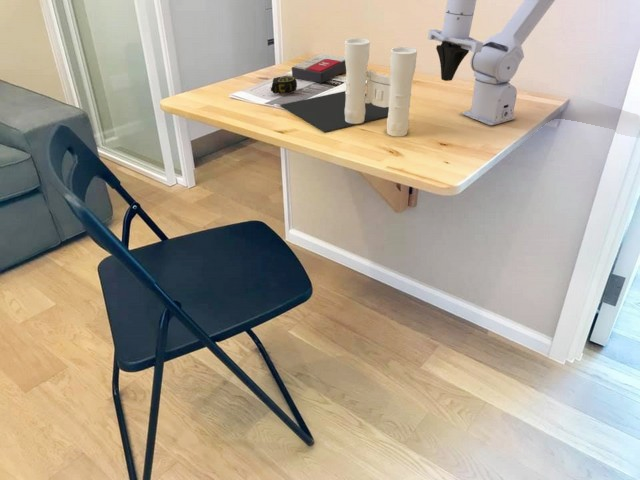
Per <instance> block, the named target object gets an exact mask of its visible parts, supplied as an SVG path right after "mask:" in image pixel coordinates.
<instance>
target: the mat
mask: <svg viewBox="0 0 640 480" xmlns="http://www.w3.org/2000/svg"><path fill="white" fill-rule="evenodd" d="M345 92H346V90H344V91H340V92H335V93H334V92H333V93H329V94H326V95H320V96H315V97H310V98H306V99H301V100H296V101H292V102H286V103H283V104H280V105H279V106H280V107H282V108H283V109H285V110H287V111H288V112H290V113H291V114H292V115H295V116H297V117H298V118H300V119H301V120H303V121H305V122H306V123H308V124H309V125H311V126H313V127H314V128H316V129H318V130H320V131H321V132H323V133H329V132H334V131H337V130H341V129H346V128H349V127H350V128H351V127H355V126H357V125H362V124H366V123H370V122H374V121H379V120H382V119H386V118H387V119H388V112H389V107H379V106H376V105H373V104H372V103H365V109H366V110H365V117H364V122H362V123H359V124H351V123H347V122H346V121H345V102H346V94H345ZM365 96H366V93H365Z"/></svg>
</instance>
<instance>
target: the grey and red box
mask: <svg viewBox="0 0 640 480" xmlns="http://www.w3.org/2000/svg"><path fill="white" fill-rule="evenodd" d="M341 74H342V75H343V74H346V63H345V56H339V55H333V54H326V53H319V54H317V55H314V56H311V57H309V58H306V59H304V61H301V62H298V63H296V64H294V65H293V66H292V67H291V76H292V77H294V78H295V79H296V80H298V79H299V80H304V81H308V82H313V83H314V82H315V83H319V84H323V83H325V82H327V81H329V80H331V79H333V78H334V77H336V76H338V75H341Z"/></svg>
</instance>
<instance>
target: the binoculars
mask: <svg viewBox="0 0 640 480" xmlns="http://www.w3.org/2000/svg"><path fill="white" fill-rule="evenodd" d="M370 44H371V41H370V40H369V39H366V38H361V37H360V38H359V37H353V38H348V39H346V40H345V41H344V57H345V63H346V73H345V77H346V78H345V91H346V92H345V94H346V102H345V121H346V122H347V123H351V124H358V125H360V124H359V123H362V122H364V117H365V110H366V109H365V103H372V104H373V105H376V106H379V107H389V112H388V117H387V120H386V134H387V135H389V136H392V137H404V136H407V135H408V129H409V126H410V108H411V96H412V87H413V81H414V80H413V79H414V75H415V71H416V67H417V56H418V49H416V48H414V47H410V46H396V47H392V48H391V49H390V59H389V75H385V74H381V73H378V72H376V71H373V70H371V69H368V66H369V65H368V64H369V59H370ZM365 94H366V96H365ZM362 124H363V123H362Z"/></svg>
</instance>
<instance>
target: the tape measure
mask: <svg viewBox="0 0 640 480" xmlns="http://www.w3.org/2000/svg"><path fill="white" fill-rule="evenodd" d="M297 88H298V83H297V78H294V77H292V75H282V76H276V77H273V79H272V83H271V86H270V91H271V92H272V93H273V94H291V93H294V92H295V91H296V90H297Z"/></svg>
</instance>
